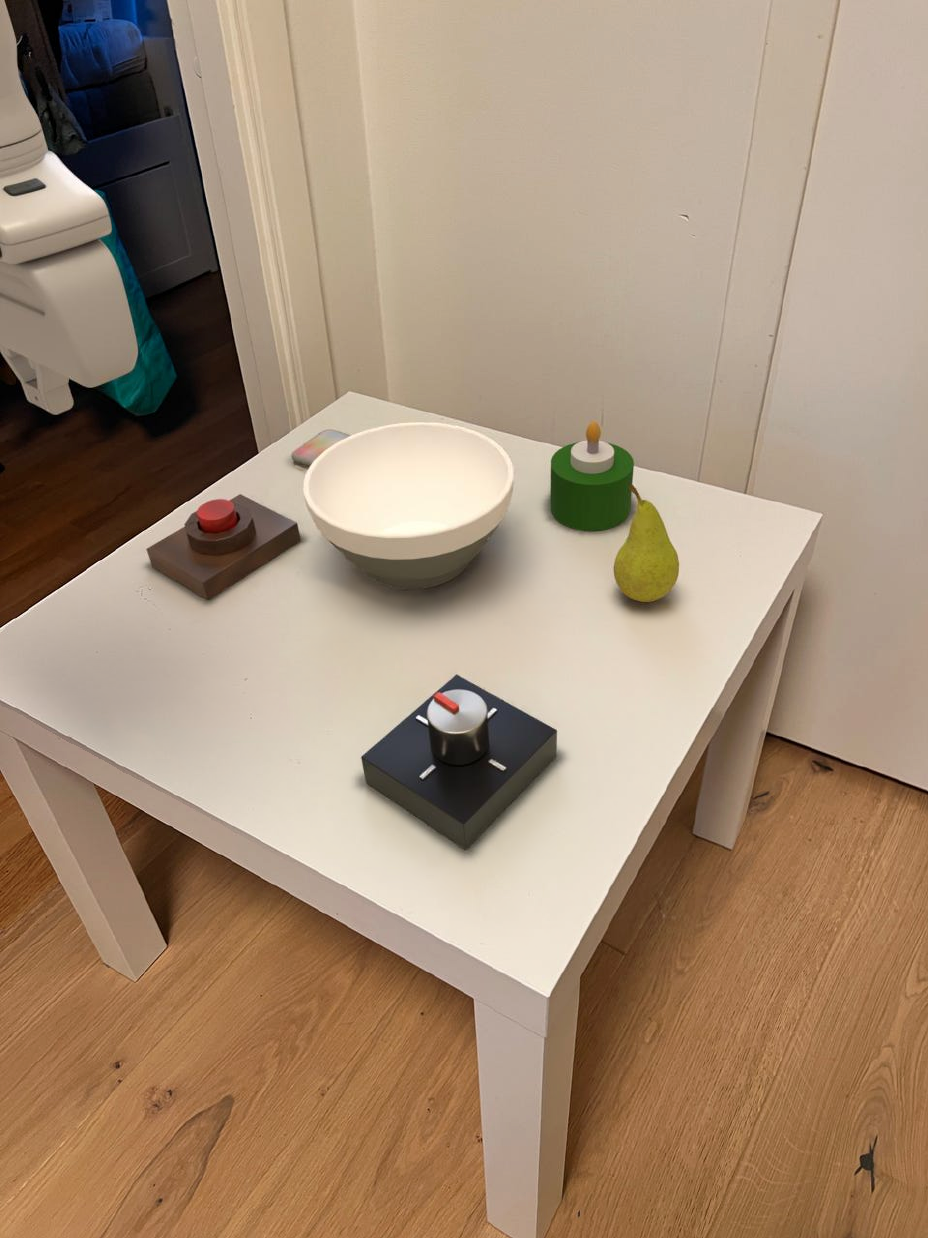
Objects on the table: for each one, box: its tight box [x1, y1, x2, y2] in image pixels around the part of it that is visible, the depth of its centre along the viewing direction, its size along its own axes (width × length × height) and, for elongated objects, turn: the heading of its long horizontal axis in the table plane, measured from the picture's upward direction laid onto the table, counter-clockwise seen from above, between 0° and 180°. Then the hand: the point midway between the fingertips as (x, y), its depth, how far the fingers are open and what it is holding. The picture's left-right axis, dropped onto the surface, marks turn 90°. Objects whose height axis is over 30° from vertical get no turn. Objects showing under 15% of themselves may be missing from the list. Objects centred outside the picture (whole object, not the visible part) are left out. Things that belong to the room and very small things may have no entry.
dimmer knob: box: [427, 689, 489, 765], centre depth 69 cm, size 4×4×4 cm
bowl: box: [302, 421, 515, 590], centre depth 90 cm, size 20×20×10 cm
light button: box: [196, 498, 238, 534], centre depth 92 cm, size 4×4×2 cm
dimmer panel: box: [360, 674, 558, 851], centre depth 71 cm, size 11×10×3 cm
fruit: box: [613, 483, 680, 603], centre depth 83 cm, size 6×6×12 cm
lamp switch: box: [145, 493, 302, 601], centre depth 94 cm, size 12×9×4 cm
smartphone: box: [291, 428, 353, 467], centre depth 106 cm, size 7×1×15 cm
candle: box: [549, 421, 635, 532], centre depth 95 cm, size 8×8×10 cm
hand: (52, 405), depth 64 cm, fingers closed
